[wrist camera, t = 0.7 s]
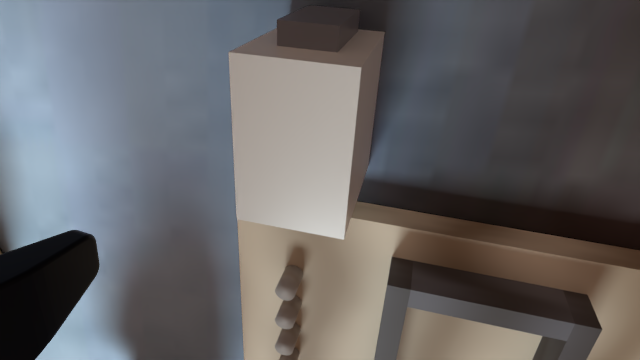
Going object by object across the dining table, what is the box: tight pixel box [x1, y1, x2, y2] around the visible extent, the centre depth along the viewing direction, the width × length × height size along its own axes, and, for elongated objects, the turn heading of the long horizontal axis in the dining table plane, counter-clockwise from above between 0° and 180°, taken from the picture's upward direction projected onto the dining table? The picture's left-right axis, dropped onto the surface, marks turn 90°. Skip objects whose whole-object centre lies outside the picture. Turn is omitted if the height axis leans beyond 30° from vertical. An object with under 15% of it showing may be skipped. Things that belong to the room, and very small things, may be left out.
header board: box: [237, 201, 640, 360], centre depth 22 cm, size 20×14×4 cm
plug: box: [229, 5, 385, 240], centre depth 16 cm, size 4×7×6 cm, turn 177°
